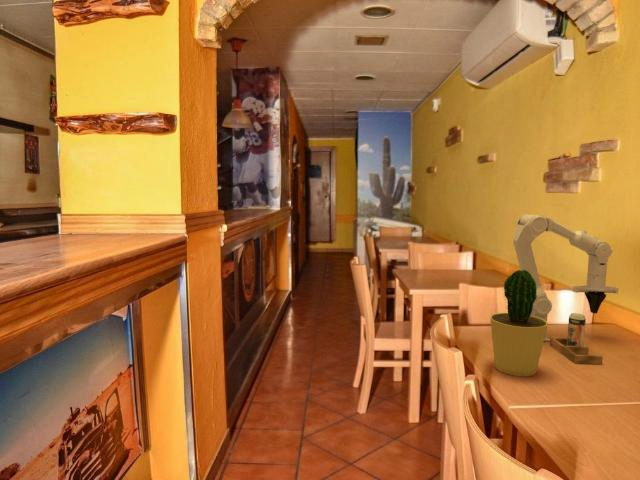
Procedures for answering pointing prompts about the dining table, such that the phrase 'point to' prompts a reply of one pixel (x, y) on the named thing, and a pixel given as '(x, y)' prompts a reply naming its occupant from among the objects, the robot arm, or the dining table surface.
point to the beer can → (576, 330)
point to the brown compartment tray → (575, 352)
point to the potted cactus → (518, 328)
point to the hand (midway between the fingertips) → (593, 312)
